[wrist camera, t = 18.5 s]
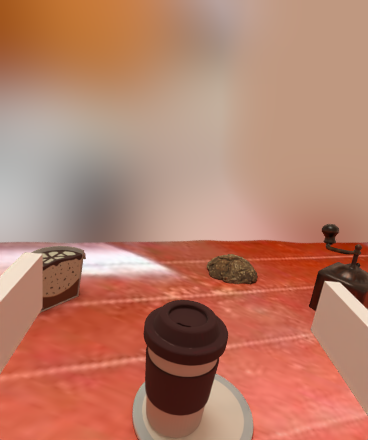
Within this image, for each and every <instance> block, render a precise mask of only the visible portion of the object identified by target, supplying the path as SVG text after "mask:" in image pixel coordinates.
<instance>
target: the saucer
mask: <svg viewBox="0 0 368 440" xmlns="http://www.w3.org/2000/svg"><path fill="white" fill-rule="evenodd" d="M132 420H133V427H134V430H135V434H136V436H137V438H138V440H251V438H252V434H253V419H252V414H251V411H250V408H249V406H248V404H247V402H246V400H245V398H244V397H243V395H242V394H241V393H240V392H239V390H238V389H237V388H236V387H235V386H234V385H233V384H231V383H230V382H229V381H227V380H226V379H224V378H223V377H221V376H219V375H218V374H215V378H214V381H213V385H212V389H211V392H210V396H209V399H208V401H207V403H206V405H205V408H204V412H203V415H202V419H201V422H200V424H199V426H198V428H197V429H196V430H195V431H194V432H193V433H192V434H190V435H188V436H185V437H181V438H170V437H166V436H164V435H161V434H160V433H158V432H157V431H155V430H154V429H153V428H152V427H151V425H150V423H149V422H148V419H147V415H146V391H145V382H144V383H143V384H142V386H141V387H140V388H139V390H138V392H137V394H136V397H135V399H134V404H133V412H132Z"/></svg>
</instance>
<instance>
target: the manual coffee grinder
mask: <svg viewBox="0 0 368 440" xmlns="http://www.w3.org/2000/svg"><path fill="white" fill-rule="evenodd" d="M322 232H323V234H324V236H325V240H324V243H326V249H328V250H331V251H334V252H338V253H343V254H354V256H353V260H352V263H351V264H342V263H340V262H338V263H335V264H333V265H330V266H328V267H326V268H324V269H322V270H320V271H319V272H318V275H317V279H316V283H315V286H314V290H313V294H312V298H311V301H310V304H309V307H310V308H312V309H313V310H315V311H316V309H317V306H318V302H319V299H320V295H321V292H322V288H323V285H324V281H330V282H340V283H341V284H342V285H343V286H344V287H345V288H346V289H347V290H348V291H349V292H350V293H351V294H352V295H353V296H354V297H355V298H356V299H357V300H358V301H359V302H360V303H361V304H362V305H363V306H364V307H365V308H366V309H368V273H367V272H366V271H364V270H362V269H361V268H359V267H360V264H359V263H356V262H357V259H358V256H359V255H360V254H361V252H360V250H361V249H362V247H361V245H356V246H355V250H354V251H347V250H342V249H337V248H333V247H330V245H332V244H334V243H336V241H335V236H336V235H337V234H338V232H339V228H338V227H337V226H335V225H333V224H327V225H325V226H324V227H323V228H322Z"/></svg>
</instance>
